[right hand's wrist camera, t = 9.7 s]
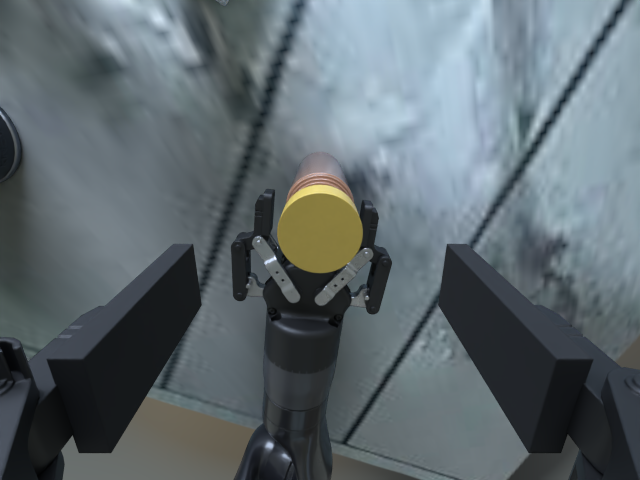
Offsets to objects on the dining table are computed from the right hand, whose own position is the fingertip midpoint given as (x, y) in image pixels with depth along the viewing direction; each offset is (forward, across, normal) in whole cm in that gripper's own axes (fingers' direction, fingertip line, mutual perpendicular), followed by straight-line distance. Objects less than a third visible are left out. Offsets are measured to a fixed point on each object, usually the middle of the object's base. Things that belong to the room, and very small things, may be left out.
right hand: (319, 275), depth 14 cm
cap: (+5, 0, 0) cm, 5 cm away
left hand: (+17, 0, +1) cm, 17 cm away
